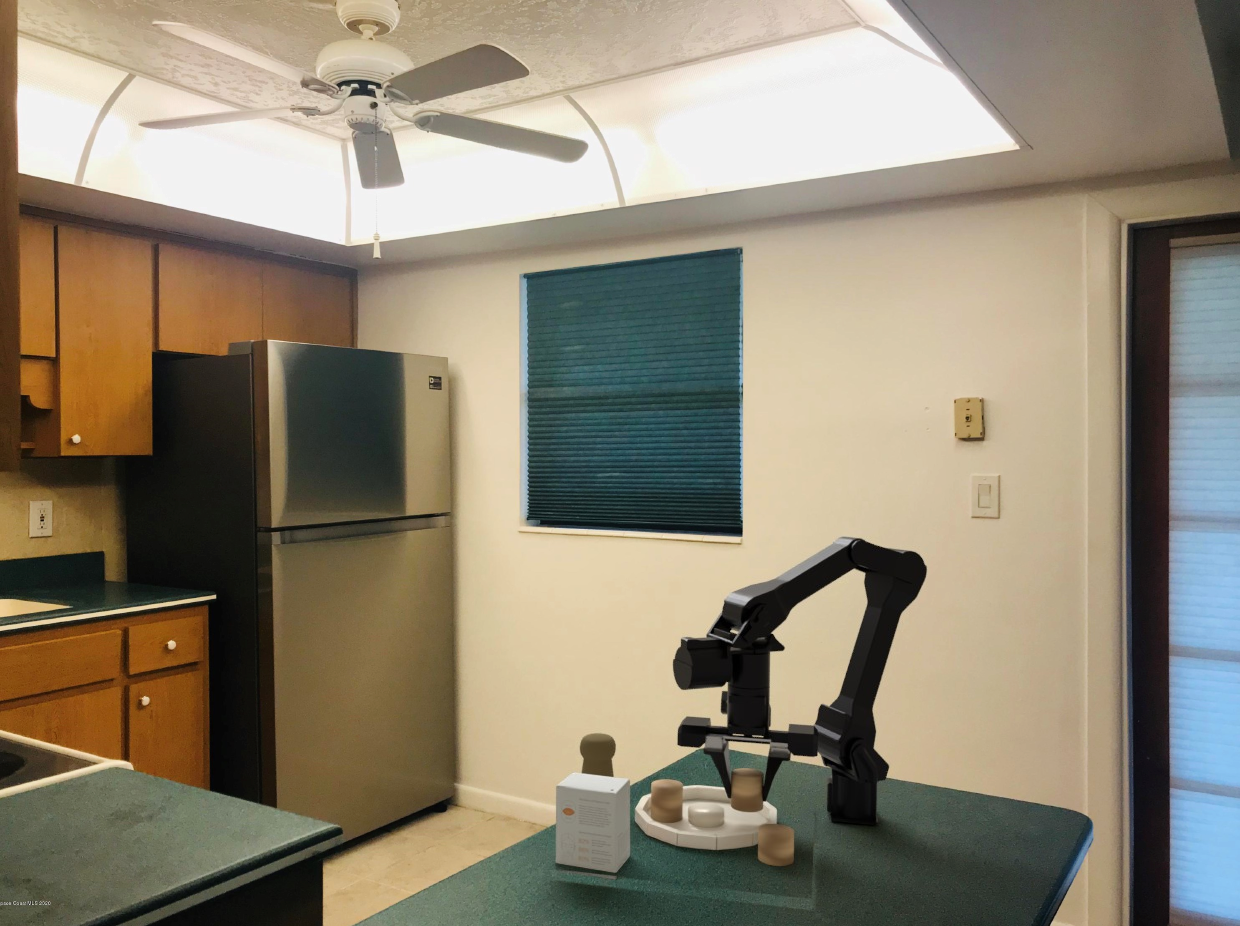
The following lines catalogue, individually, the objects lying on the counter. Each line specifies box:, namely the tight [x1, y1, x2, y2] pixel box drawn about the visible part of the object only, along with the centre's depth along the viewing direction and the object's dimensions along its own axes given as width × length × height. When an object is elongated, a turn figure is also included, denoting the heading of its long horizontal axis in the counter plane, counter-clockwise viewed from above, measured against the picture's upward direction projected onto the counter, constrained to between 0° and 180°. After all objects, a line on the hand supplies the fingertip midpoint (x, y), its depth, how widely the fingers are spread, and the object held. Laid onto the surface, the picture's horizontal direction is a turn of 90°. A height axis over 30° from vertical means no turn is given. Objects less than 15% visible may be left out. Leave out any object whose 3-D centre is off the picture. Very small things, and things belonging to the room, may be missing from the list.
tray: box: [634, 784, 778, 851], centre depth 126 cm, size 19×19×3 cm
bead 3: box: [757, 823, 795, 867], centre depth 114 cm, size 4×4×4 cm
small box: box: [555, 772, 631, 881], centre depth 113 cm, size 8×6×10 cm
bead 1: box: [650, 778, 684, 823], centre depth 127 cm, size 4×4×4 cm
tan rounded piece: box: [730, 767, 765, 812], centre depth 125 cm, size 4×4×4 cm
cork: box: [579, 732, 617, 777], centre depth 132 cm, size 6×6×11 cm
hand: (747, 798), depth 125 cm, fingers closed on tan rounded piece, 4 cm apart
